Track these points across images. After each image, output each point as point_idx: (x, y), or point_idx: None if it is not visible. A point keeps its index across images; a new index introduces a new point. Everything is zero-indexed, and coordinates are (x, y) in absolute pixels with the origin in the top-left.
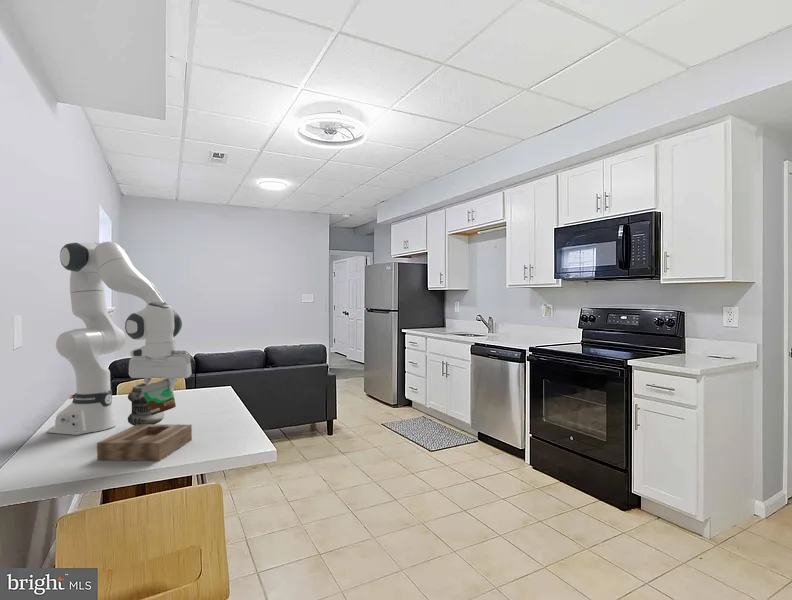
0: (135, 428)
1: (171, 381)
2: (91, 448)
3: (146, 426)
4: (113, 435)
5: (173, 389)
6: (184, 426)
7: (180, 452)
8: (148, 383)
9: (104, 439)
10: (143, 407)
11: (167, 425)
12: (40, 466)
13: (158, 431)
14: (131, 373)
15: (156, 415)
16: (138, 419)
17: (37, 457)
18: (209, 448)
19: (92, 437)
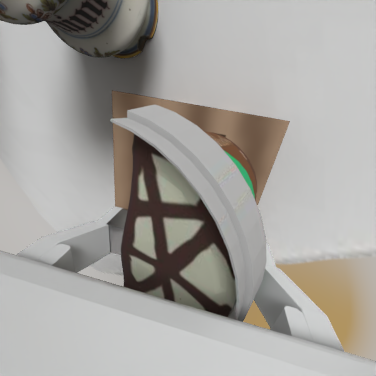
0: (132, 137)
1: (259, 280)
2: (80, 144)
3: None
4: (116, 188)
5: (267, 249)
6: (268, 141)
7: (263, 203)
8: (89, 256)
9: None
10: (71, 19)
11: (210, 119)
12: (72, 215)
13: None
14: None
15: (132, 7)
16: (94, 53)
17: (34, 176)
18: (328, 192)
19: (22, 57)
